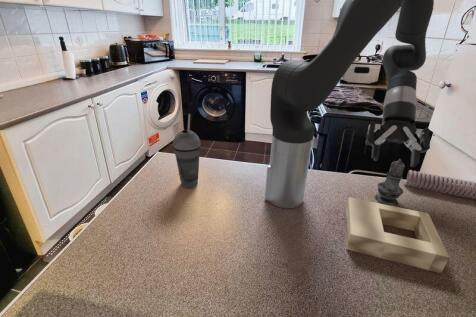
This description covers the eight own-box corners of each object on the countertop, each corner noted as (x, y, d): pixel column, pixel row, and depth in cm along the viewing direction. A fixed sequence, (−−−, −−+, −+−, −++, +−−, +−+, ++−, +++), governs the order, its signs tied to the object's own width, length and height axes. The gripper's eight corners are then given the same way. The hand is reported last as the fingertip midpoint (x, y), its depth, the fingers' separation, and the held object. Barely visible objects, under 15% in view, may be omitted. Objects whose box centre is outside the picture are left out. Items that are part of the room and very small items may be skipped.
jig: (346, 249, 52) (350, 233, 50) (345, 210, 63) (348, 197, 61) (440, 273, 47) (449, 257, 45) (421, 227, 58) (428, 213, 56)
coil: (409, 175, 71) (491, 190, 65) (407, 166, 75) (485, 180, 68) (403, 188, 73) (482, 204, 67) (401, 179, 77) (476, 194, 71)
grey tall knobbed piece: (402, 208, 64) (418, 165, 59) (377, 204, 65) (390, 162, 60) (394, 194, 70) (409, 154, 64) (371, 192, 71) (383, 152, 65)
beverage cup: (181, 175, 76) (175, 108, 67) (205, 178, 75) (203, 110, 66) (172, 189, 69) (164, 117, 60) (198, 192, 68) (194, 119, 59)
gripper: (374, 97, 69) (367, 153, 65) (436, 103, 65) (434, 163, 60) (367, 111, 76) (361, 162, 71) (423, 117, 72) (420, 172, 67)
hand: (394, 163), depth 66 cm, fingers open, 8 cm apart
